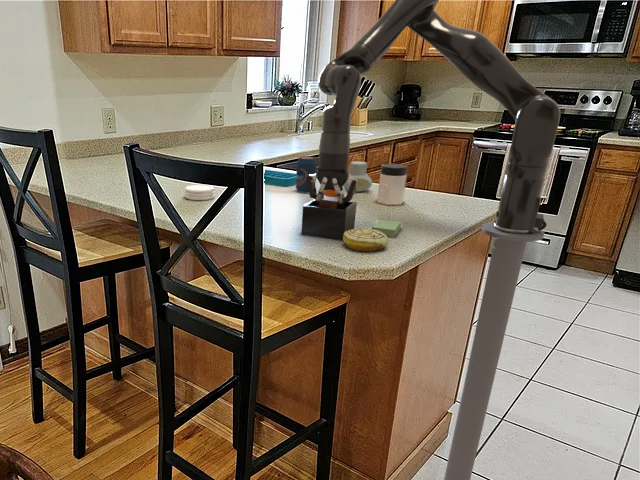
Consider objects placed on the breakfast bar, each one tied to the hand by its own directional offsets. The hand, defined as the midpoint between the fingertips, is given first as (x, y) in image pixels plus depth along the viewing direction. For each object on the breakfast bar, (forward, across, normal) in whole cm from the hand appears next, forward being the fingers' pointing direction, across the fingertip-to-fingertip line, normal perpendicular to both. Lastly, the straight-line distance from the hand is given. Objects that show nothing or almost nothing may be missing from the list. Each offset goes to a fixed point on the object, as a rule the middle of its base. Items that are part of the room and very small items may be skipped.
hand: (329, 215), depth 141 cm
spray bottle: (+5, +11, -35) cm, 37 cm away
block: (0, 0, 0) cm, 0 cm away
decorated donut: (+5, -12, +8) cm, 15 cm away
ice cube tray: (+5, +40, -57) cm, 70 cm away
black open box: (+5, 0, 0) cm, 5 cm away
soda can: (+5, +23, -46) cm, 52 cm away
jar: (+5, -8, -43) cm, 44 cm away
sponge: (+5, -14, -8) cm, 17 cm away
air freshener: (+5, +7, -56) cm, 57 cm away
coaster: (+5, +52, -20) cm, 56 cm away
